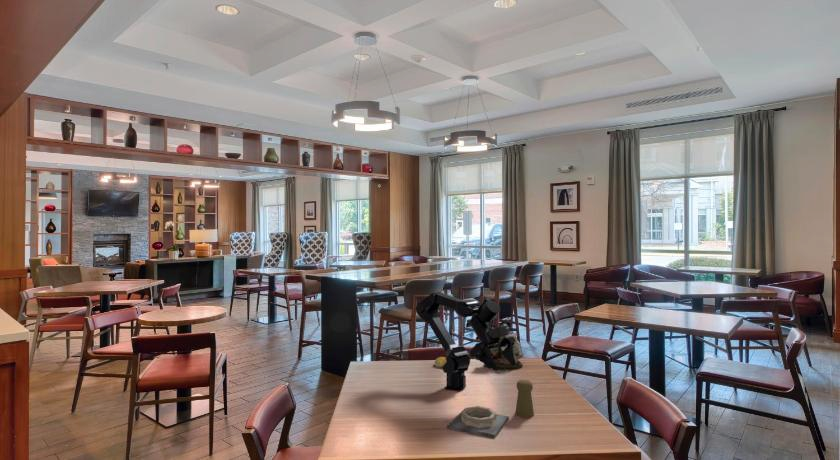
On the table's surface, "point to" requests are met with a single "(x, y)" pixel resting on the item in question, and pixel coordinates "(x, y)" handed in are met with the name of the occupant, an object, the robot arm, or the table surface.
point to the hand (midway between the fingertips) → (506, 367)
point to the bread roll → (440, 362)
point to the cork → (524, 399)
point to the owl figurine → (502, 361)
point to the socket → (479, 421)
